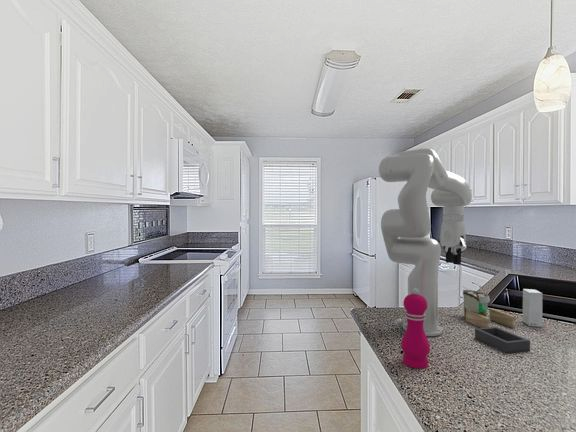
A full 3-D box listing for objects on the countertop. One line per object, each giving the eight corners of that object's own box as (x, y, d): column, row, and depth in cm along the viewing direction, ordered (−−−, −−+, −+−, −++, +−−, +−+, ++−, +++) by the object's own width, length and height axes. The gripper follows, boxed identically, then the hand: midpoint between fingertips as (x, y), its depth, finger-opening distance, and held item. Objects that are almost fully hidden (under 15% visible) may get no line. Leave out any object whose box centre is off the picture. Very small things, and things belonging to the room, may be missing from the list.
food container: (497, 325, 119) (497, 297, 119) (479, 325, 119) (479, 297, 119) (478, 315, 131) (478, 289, 131) (462, 315, 131) (462, 289, 131)
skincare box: (542, 327, 117) (543, 293, 117) (528, 326, 118) (528, 292, 118) (535, 322, 123) (535, 289, 123) (522, 320, 124) (522, 288, 124)
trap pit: (506, 353, 95) (506, 342, 95) (474, 338, 107) (474, 328, 107) (530, 350, 97) (530, 340, 97) (496, 336, 109) (496, 326, 109)
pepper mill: (427, 372, 84) (427, 292, 84) (397, 365, 88) (398, 289, 88) (432, 361, 90) (432, 287, 90) (404, 355, 94) (404, 284, 94)
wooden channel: (487, 330, 114) (487, 318, 114) (465, 321, 124) (465, 310, 124) (515, 327, 116) (515, 316, 116) (492, 318, 126) (492, 308, 126)
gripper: (432, 218, 146) (432, 260, 146) (459, 219, 129) (459, 266, 130) (447, 218, 147) (447, 260, 147) (476, 219, 131) (476, 266, 131)
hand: (453, 262), depth 139 cm, fingers open, 3 cm apart
